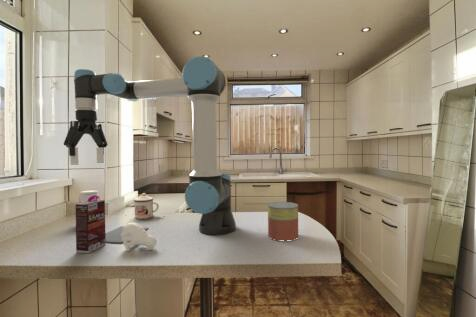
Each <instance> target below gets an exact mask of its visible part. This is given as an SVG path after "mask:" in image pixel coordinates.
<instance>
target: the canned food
mask: <svg viewBox="0 0 476 317" xmlns="http://www.w3.org/2000/svg"><path fill="white" fill-rule="evenodd" d="M267 228H268V229H267V230H268V231H267V237H268V236H269V237H270V238H272V239H275V240H284V241H287V240H294V239H296V238H298V236H299V204H298V203H297V202H296V203H295V202H289V201H275V202H270V203H267ZM269 237H268V238H269ZM270 238H269V239H270ZM298 239H299V238H298Z"/></svg>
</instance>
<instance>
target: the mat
mask: <svg viewBox="0 0 476 317" xmlns="http://www.w3.org/2000/svg"><path fill="white" fill-rule="evenodd" d="M124 226H125V225H124ZM124 226H121V225H120V226H119V227H117V228H115V229H111V230H110V231H107V232H105V237H106V244H121V245H122V244H124V242H123V241H122V238H121V233H122V229H123V227H124ZM142 227H143V226H142ZM143 228H144V230H145V231H146V232H147V230H149V227H143Z"/></svg>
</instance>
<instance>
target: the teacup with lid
mask: <svg viewBox="0 0 476 317" xmlns="http://www.w3.org/2000/svg"><path fill="white" fill-rule="evenodd" d="M146 194H147V193H146V192H143V193H141V195H140V196H137V197H135V198H134V200H133V202H134V218H135V219H139V220H142V219H150V218H152V217H153V216H154V213H155V212H157V211H158V210H159V207H160V205H159V203H158V202H156V201H154V198H153V197H152V196H149V195H146ZM154 205H156V208H155V210H154Z"/></svg>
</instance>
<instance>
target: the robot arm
mask: <svg viewBox="0 0 476 317" xmlns="http://www.w3.org/2000/svg"><path fill="white" fill-rule="evenodd" d="M73 76H74V79H73V81H74V82H73V83H74V85H73V86H74V101H75V103H74V104H75V105H74V106H75V109H76V110H75V111H74V112H75V120H71V121H70V122H69V124H70V125H69V129H68V131H67V134H66V136H65V139H64V142H63V145H64V146H66V148H68V155H69V158H70V166H78V165H79V147H77V145H78V144H79V143H80V141H81V139H82V138H83V136H84V135H85V134H86V135H89V136H91V138H92V140H93V141H94V142H95V144H96V146H97V147H96V164H104V162H105V161H104V157H105V156H104V155H105V148H107V146H108V141H107V138H106V136H105V133H104V131H103V126H102V123H96V121H98V112H97V111H98V100H97V98H98V96H99V95H100V96H102V95H110V96H113V97H115V98H119V99H123V100H126V101H128V102H137V101H139V100H146V99H147V100H148V99H150V100H151V99H163V98H167V99H168V98H181V97H187V99H188V100H189V102H191V113H192V114H191V118H192V123H191V125H192V163H193V164H192V165H193V168H192V171H191V172H190V173H189V175H188V176H189V177H188V182H189V184H188V186H187V187H186V190H185V191H184V199H185V203H186V205H187V207H188V208H189V209H190V210H191V211H193V212H194V213H196V214H198V215H199V214H200V215H201V217H200V220H199V223H198V230H199V233H201V234H204V235H212V236H213V235H214V236H215V235H227V234H229V233H233V232H234V231H235V230H236V228H237V227H236V226H237V225H236V224H237V223H236V220H235V218H234V214H233V211H232V179H231V175H230V174H228V173H221V171H219V170H218V169H219V168H218V139H217V138H218V136H217V134H218V132H217V131H218V130H217V128H218V127H217V103H218V101H219V100H220V99H221V95H222V93H223V92H224V91H225V89H226V87H227V86H226V85H227V79H226V76H225V74H224V72H223V71H222V70H221V69H220V68H219V67H218V66H217V65H216V63H215V62H214V61H213V60H211V59H209V58H208V57H206V56H199V55H198V56H194V57H193V58H190V59H189V60H188V61H187V62H186V63H185V64H184V66H183V68H182V73H181V77H174V78H173V77H172V78H162V79H149V80H148V79H147V80H137V81H136V80H135V81H134V80H133V81H127V80H125V78H124V77H123V76H122V75H121V74H120V73H118V72H117V73H112V72H109V73H103V74H97V73H96V72H95V71H94V70H90V69H83V68H81V69H80V68H79V69H77V70H75V71H74V75H73ZM232 231H233V232H232Z"/></svg>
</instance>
